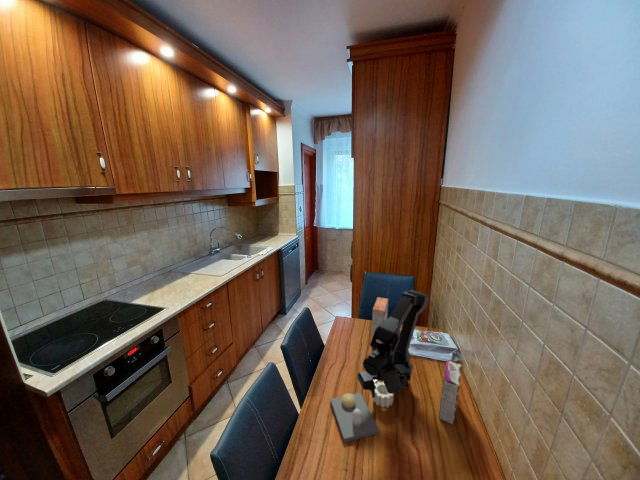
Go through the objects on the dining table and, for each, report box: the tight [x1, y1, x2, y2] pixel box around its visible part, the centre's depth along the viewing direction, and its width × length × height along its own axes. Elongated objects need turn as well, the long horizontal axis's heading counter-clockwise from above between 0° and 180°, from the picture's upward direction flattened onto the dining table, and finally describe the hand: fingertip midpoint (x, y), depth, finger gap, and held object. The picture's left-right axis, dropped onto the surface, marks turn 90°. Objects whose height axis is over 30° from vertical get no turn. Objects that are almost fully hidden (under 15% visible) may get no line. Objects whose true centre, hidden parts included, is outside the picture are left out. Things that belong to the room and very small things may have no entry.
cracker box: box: [371, 296, 389, 343], centre depth 126 cm, size 14×6×21 cm, turn 157°
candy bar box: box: [438, 359, 462, 426], centre depth 87 cm, size 11×5×16 cm, turn 148°
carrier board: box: [330, 392, 380, 443], centre depth 86 cm, size 12×15×6 cm
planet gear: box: [372, 381, 395, 408], centre depth 92 cm, size 8×8×4 cm
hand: (382, 395), depth 92 cm, fingers closed on planet gear, 7 cm apart
